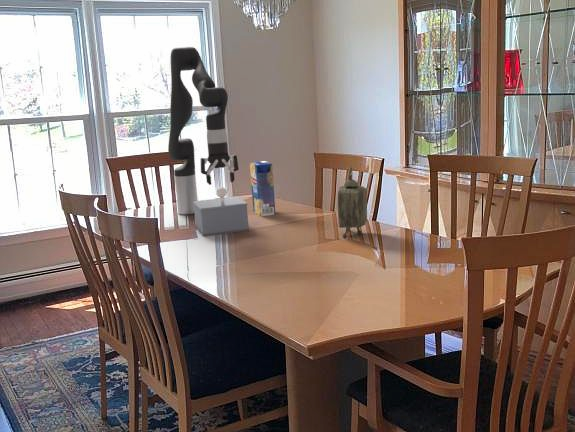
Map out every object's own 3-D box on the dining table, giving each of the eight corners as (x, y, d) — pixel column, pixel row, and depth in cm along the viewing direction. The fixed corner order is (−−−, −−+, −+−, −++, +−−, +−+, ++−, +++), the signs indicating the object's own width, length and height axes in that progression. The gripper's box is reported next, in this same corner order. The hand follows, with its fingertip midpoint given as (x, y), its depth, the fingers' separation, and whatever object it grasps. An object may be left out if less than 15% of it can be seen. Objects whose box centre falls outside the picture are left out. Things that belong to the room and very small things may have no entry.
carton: (196, 227, 264) (193, 203, 262) (239, 222, 269) (237, 198, 267) (203, 236, 249) (201, 210, 247) (248, 230, 254) (246, 205, 252)
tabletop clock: (343, 229, 246) (341, 164, 241) (367, 229, 244) (365, 163, 239) (339, 239, 232) (336, 170, 227) (364, 239, 230) (362, 170, 225)
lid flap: (193, 203, 261) (191, 184, 260) (237, 198, 267) (236, 179, 265) (200, 210, 247) (198, 190, 245) (247, 205, 252) (245, 185, 250)
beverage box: (268, 209, 289) (264, 160, 284) (275, 214, 279) (272, 163, 274) (253, 211, 287) (249, 162, 282) (260, 216, 277) (256, 165, 272)
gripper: (233, 138, 251) (236, 180, 255) (196, 142, 247) (200, 184, 251) (237, 140, 244) (241, 182, 248) (200, 143, 240) (204, 186, 244)
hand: (220, 183), depth 249 cm, fingers open, 8 cm apart
